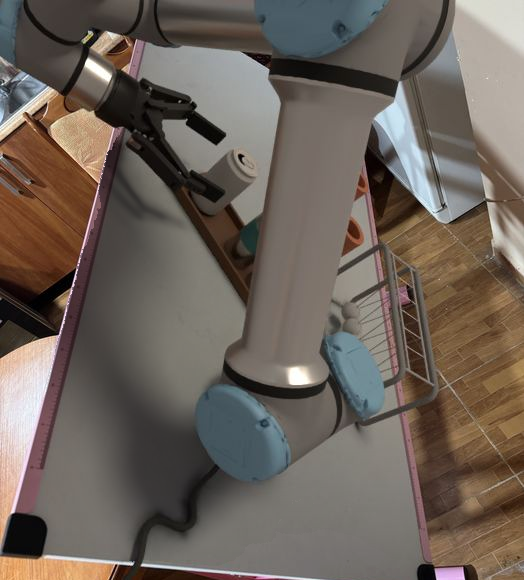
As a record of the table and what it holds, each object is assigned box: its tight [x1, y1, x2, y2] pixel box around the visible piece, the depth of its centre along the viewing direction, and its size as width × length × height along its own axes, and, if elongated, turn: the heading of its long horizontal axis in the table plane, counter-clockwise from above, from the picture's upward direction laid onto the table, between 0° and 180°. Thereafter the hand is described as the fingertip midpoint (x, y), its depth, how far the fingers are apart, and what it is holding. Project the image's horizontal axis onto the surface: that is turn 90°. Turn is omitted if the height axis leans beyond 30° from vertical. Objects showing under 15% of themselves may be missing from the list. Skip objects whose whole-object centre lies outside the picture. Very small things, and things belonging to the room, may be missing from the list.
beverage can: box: [191, 146, 260, 215], centre depth 95 cm, size 6×6×12 cm
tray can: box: [224, 211, 263, 270], centre depth 96 cm, size 6×6×12 cm
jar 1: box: [341, 215, 365, 258], centre depth 115 cm, size 7×7×11 cm
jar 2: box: [354, 171, 370, 203], centre depth 127 cm, size 7×7×11 cm
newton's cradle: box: [322, 242, 440, 427], centre depth 104 cm, size 30×10×18 cm, turn 178°
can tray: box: [173, 171, 254, 306], centre depth 99 cm, size 10×27×2 cm, turn 47°
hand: (220, 167), depth 92 cm, fingers open, 13 cm apart
